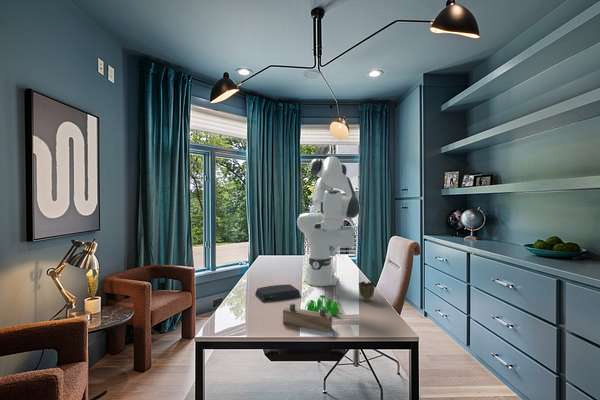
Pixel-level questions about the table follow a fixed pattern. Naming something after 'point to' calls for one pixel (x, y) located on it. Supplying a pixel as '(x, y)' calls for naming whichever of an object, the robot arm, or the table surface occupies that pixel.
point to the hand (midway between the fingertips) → (332, 255)
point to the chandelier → (320, 304)
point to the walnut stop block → (307, 318)
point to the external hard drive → (277, 293)
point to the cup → (366, 290)
